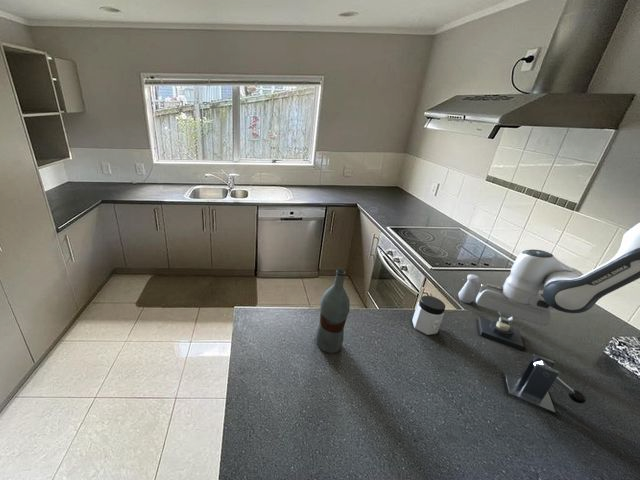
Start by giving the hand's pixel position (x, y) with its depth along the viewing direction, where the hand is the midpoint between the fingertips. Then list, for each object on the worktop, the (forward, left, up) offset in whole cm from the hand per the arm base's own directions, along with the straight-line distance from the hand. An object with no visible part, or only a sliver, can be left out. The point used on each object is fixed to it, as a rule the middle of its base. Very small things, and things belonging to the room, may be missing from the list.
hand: (503, 323), depth 103 cm
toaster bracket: (-4, +26, -6) cm, 27 cm away
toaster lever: (-8, +26, +1) cm, 27 cm away
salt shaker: (+10, -18, -6) cm, 21 cm away
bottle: (+52, +42, -6) cm, 67 cm away
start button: (0, 0, -2) cm, 2 cm away
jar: (+24, +12, -6) cm, 27 cm away
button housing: (0, 0, -6) cm, 6 cm away
